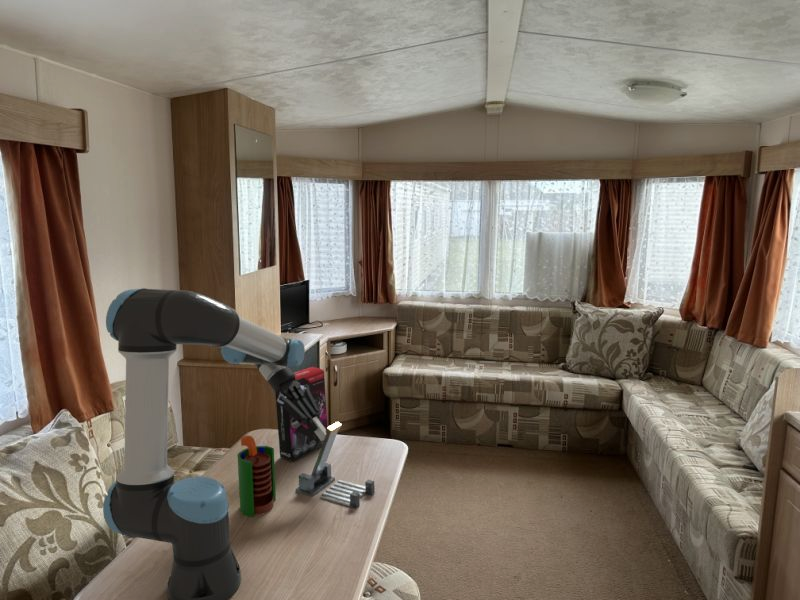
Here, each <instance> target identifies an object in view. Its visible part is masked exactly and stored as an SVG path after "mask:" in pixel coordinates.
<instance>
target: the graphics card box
mask: <svg viewBox="0 0 800 600" xmlns="http://www.w3.org/2000/svg"><path fill="white" fill-rule="evenodd" d="M293 373H294V374H295V380H296V381H297V382H299V383H300V385H302V386H305V385H306V384H307V385H308V386H309V390H310V393H311V395H312V397H313V398H314V400H315V402H316V404H317V406H318V408H319V410H320V412H319V414H318V415H317V416H318V418H319V419H320V421H321V422H322V423H323V426H324V428H325V429H327V427H328V415H327V414H328V413H327V397H326V396H327V395H326V384H325V383H326V380H325V370H324V369H322V368H320V367H315V366H310V367H307V368H304V369H300V370H298V371H293ZM274 393H275V394H274V395H275V401H276V400H277V399H278V397H279V395H278V392H276V391H274ZM275 405H276V406H275V407H276V419H277V420H276V421H277V432H278V444H279V445H278V446H279V457H280V458H282V459H284V460H287V461H290V462H294V461H296V460H299V459H301V458H303V457H305V456H307V455H309V454H311V453H313V452H314V451H317V450H319V449H321V447H322V444H323V441H324V440H323V441H321V440H320V439H319V438H318V436H317V435H316V433H315V432H313V431H312V430H311V429H310V427H309V426H308V424H306V425H304V424H303V423H302V424H300V423H299V422H298V421H297V420H296V419H295V418H294V417H293V416H291V415H290V414H289V413H288V412H287V411H286V410H285V409H284V408H283V407H282V406H280V405H279V404H277V403H276V402H275Z"/></svg>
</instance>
